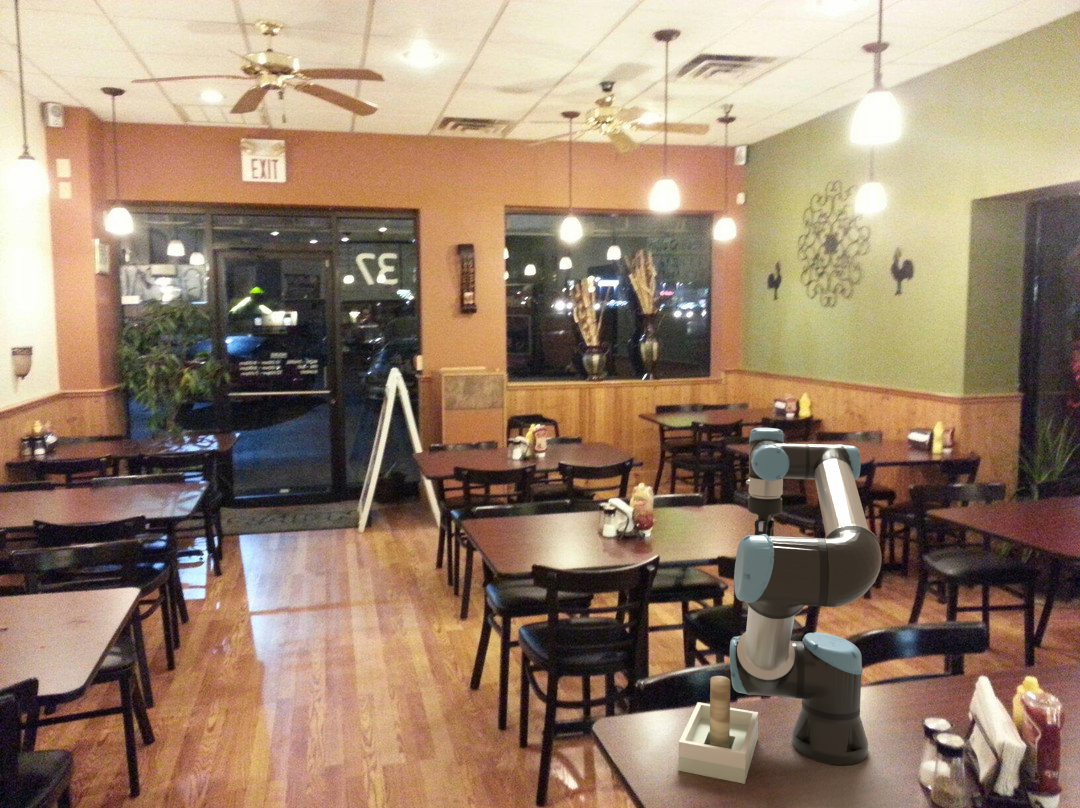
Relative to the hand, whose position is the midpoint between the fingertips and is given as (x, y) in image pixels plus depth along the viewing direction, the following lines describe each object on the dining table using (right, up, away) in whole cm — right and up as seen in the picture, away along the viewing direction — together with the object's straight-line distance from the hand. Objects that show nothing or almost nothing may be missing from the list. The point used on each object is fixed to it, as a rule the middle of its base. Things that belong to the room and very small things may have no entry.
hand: (763, 586), depth 191 cm
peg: (-14, -31, -20) cm, 39 cm away
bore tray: (-14, -31, -20) cm, 39 cm away
